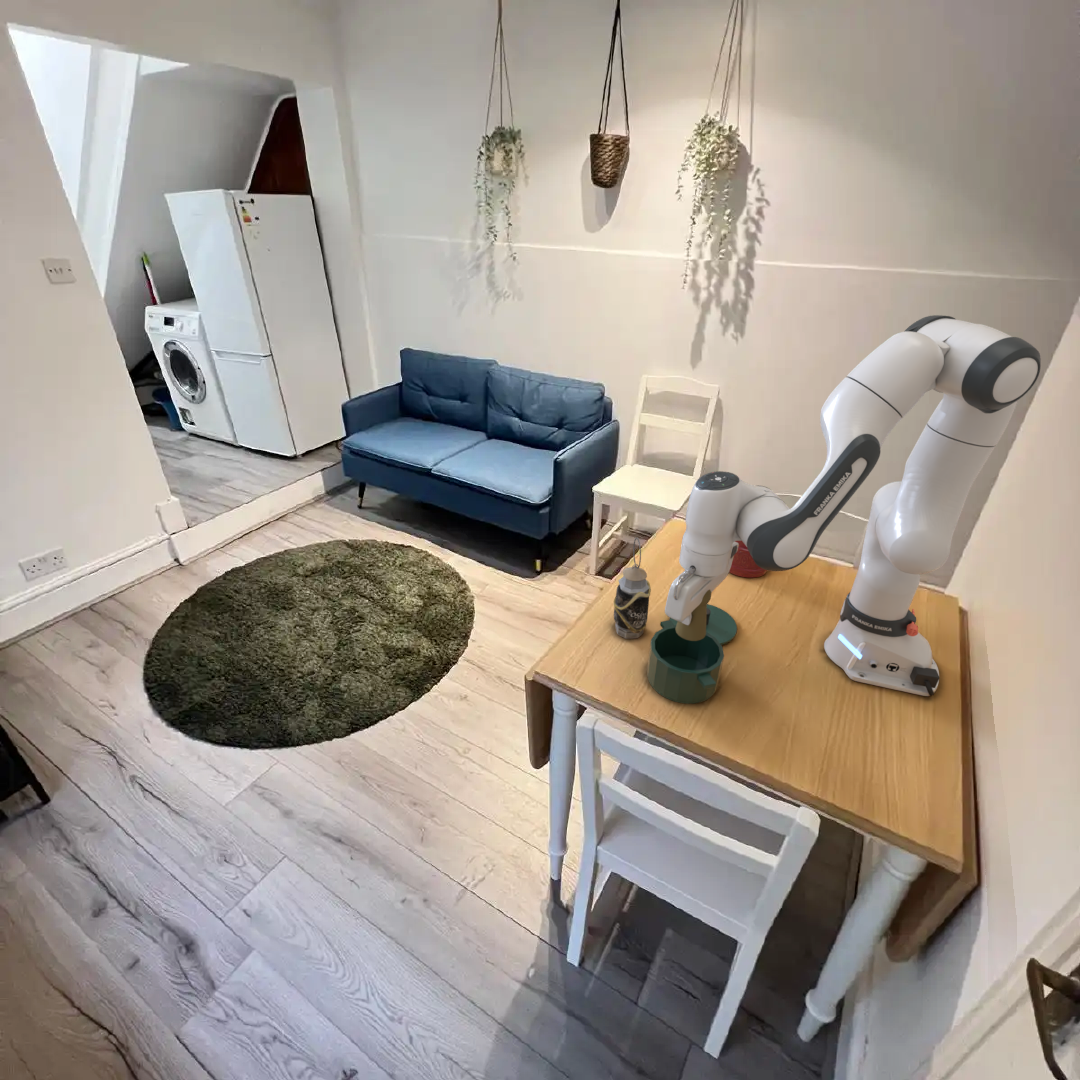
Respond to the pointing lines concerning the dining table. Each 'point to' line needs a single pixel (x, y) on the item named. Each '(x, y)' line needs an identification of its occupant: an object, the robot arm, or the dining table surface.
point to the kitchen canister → (745, 563)
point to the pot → (684, 665)
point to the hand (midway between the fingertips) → (693, 614)
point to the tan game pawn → (695, 622)
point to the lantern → (632, 601)
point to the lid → (718, 624)
